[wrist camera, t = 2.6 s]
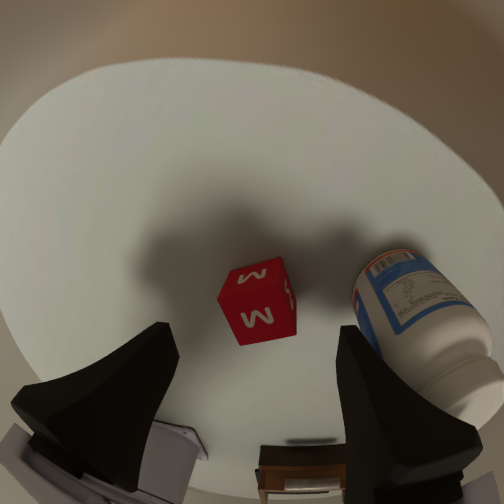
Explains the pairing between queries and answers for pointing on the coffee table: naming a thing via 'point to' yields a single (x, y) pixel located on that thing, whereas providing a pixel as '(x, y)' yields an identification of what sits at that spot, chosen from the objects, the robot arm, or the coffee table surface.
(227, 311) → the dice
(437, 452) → the robot arm
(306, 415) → the coffee table surface
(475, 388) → the pill bottle
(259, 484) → the wooden box
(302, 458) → the plinth
